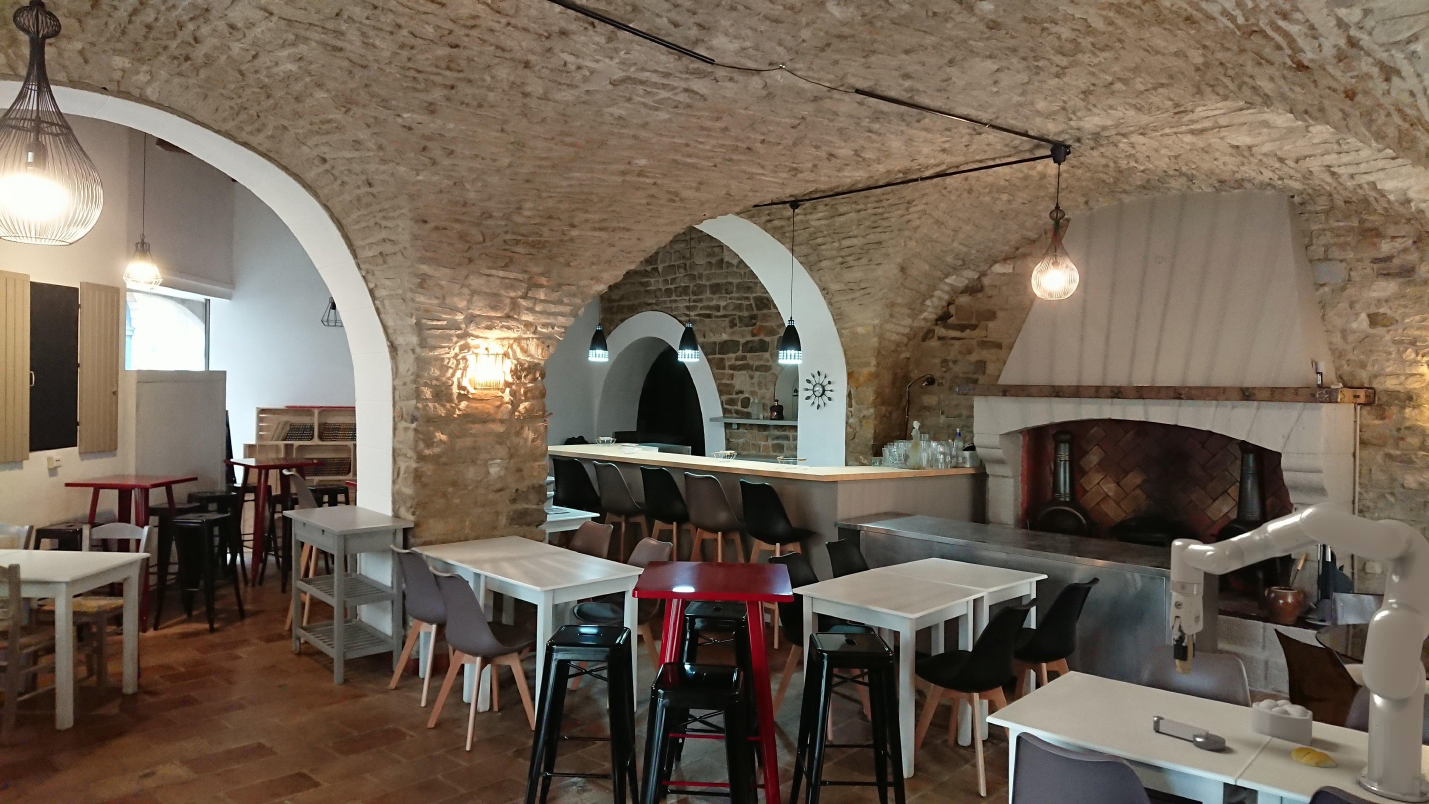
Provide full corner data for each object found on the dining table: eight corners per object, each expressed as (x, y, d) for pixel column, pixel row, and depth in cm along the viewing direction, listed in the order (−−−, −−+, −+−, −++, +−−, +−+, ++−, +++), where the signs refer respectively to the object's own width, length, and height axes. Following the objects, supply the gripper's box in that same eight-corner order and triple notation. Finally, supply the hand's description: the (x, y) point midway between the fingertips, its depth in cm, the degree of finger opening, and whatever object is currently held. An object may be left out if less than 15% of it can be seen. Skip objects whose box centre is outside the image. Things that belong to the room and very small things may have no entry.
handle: (1195, 677, 227) (1197, 618, 227) (1167, 672, 231) (1169, 614, 231) (1199, 673, 231) (1201, 615, 231) (1171, 668, 235) (1173, 611, 235)
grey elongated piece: (1229, 746, 219) (1230, 732, 219) (1219, 753, 214) (1219, 738, 214) (1159, 727, 232) (1159, 713, 232) (1147, 733, 227) (1148, 719, 227)
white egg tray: (1308, 749, 223) (1309, 714, 223) (1248, 736, 231) (1249, 702, 231) (1313, 737, 231) (1314, 704, 231) (1254, 725, 239) (1255, 692, 239)
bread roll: (1308, 757, 218) (1309, 741, 218) (1342, 772, 209) (1342, 755, 209) (1280, 759, 216) (1281, 743, 216) (1313, 775, 207) (1313, 757, 207)
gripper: (1189, 594, 222) (1186, 667, 223) (1214, 586, 234) (1211, 656, 234) (1158, 588, 228) (1155, 660, 228) (1183, 581, 239) (1181, 649, 239)
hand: (1184, 657), depth 231 cm, fingers closed on handle, 3 cm apart
